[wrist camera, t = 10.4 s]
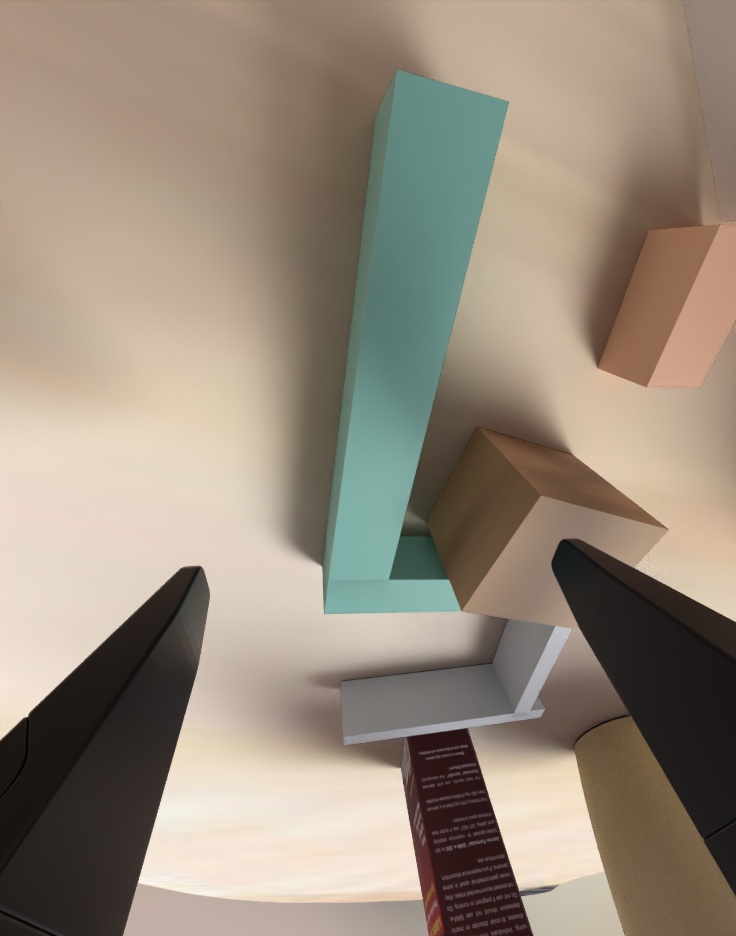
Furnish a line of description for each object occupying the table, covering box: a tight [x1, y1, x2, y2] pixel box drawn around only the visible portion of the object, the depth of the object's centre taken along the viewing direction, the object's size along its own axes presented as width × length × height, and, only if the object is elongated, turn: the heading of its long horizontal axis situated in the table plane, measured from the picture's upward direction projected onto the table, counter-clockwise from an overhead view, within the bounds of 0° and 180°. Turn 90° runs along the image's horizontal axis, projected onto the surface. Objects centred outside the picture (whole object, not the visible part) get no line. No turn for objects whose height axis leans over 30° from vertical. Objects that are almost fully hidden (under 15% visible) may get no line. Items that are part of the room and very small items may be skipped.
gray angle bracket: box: [340, 619, 572, 745], centre depth 19 cm, size 12×12×3 cm
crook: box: [322, 70, 509, 614], centre depth 13 cm, size 9×16×3 cm, turn 171°
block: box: [427, 427, 669, 629], centre depth 14 cm, size 5×5×5 cm
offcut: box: [598, 224, 736, 388], centre depth 12 cm, size 2×4×2 cm, turn 177°
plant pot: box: [574, 716, 736, 936], centre depth 26 cm, size 15×15×16 cm
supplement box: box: [401, 728, 533, 936], centre depth 22 cm, size 9×5×16 cm, turn 1°
